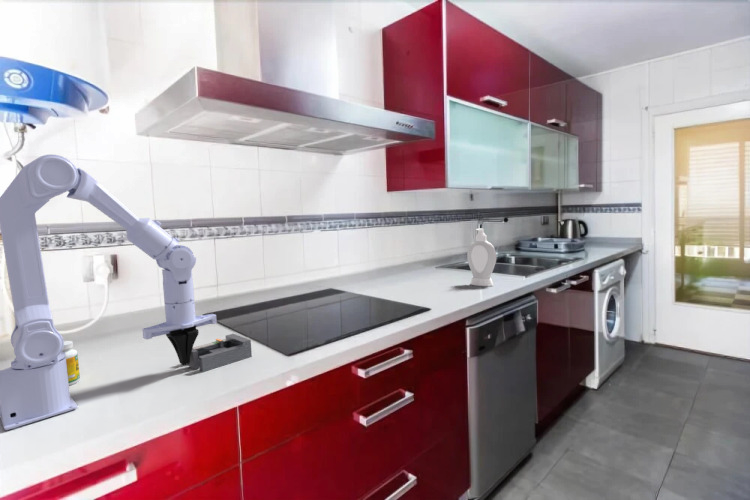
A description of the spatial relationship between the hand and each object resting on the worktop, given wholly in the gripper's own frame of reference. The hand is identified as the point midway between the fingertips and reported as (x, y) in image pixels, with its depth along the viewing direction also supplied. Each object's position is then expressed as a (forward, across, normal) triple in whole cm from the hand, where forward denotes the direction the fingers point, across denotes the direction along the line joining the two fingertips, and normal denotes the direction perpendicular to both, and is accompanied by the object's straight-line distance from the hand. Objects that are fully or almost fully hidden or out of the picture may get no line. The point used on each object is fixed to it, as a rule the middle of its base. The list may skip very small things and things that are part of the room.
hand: (184, 363), depth 86 cm
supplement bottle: (+2, -18, +13) cm, 23 cm away
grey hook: (+1, +6, +1) cm, 6 cm away
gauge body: (+2, +8, 0) cm, 8 cm away
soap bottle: (+2, +120, -6) cm, 121 cm away
